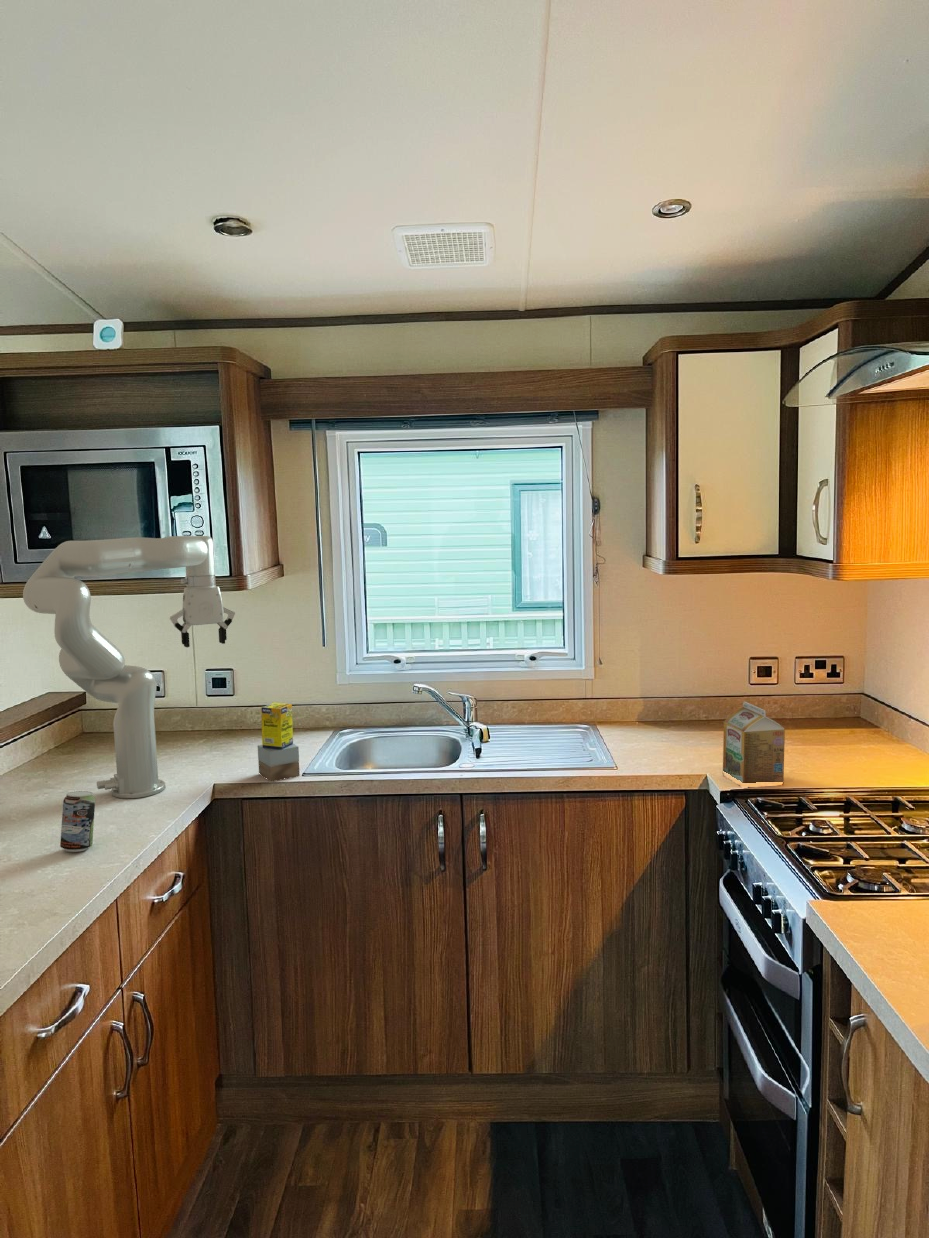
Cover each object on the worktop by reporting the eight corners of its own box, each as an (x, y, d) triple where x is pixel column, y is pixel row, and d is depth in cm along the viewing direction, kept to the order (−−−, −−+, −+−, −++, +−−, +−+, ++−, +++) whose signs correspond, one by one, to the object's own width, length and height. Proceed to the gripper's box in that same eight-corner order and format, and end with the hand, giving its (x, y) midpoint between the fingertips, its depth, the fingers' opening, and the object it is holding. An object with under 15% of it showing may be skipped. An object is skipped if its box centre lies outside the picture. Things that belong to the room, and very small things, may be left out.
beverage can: (54, 853, 173) (49, 797, 171) (81, 840, 180) (77, 785, 178) (77, 857, 171) (73, 800, 169) (105, 844, 177) (100, 788, 176)
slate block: (270, 767, 217) (269, 751, 217) (258, 760, 224) (257, 745, 223) (299, 761, 222) (298, 746, 221) (286, 754, 228) (285, 740, 228)
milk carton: (783, 785, 206) (785, 709, 204) (743, 788, 205) (744, 711, 202) (761, 772, 217) (763, 700, 214) (722, 775, 215) (724, 702, 213)
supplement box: (281, 750, 218) (280, 708, 217) (261, 748, 220) (260, 707, 219) (294, 744, 224) (292, 703, 222) (274, 742, 226) (272, 701, 224)
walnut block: (270, 782, 217) (269, 767, 217) (259, 775, 224) (258, 760, 223) (299, 776, 222) (299, 761, 221) (287, 769, 228) (286, 755, 228)
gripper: (171, 585, 220) (176, 650, 222) (237, 581, 229) (240, 643, 231) (164, 583, 226) (168, 646, 228) (228, 579, 236) (231, 640, 238)
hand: (204, 644), depth 230 cm, fingers open, 9 cm apart
